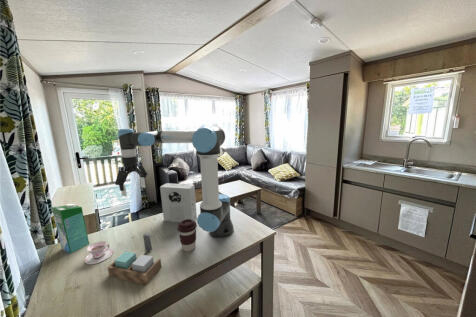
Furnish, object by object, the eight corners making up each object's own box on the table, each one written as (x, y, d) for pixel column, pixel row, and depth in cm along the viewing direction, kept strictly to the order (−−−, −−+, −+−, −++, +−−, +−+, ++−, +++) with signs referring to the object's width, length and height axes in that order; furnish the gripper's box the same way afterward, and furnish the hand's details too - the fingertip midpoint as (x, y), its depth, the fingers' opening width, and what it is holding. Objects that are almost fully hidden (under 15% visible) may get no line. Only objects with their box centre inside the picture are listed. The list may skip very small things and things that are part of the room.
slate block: (154, 269, 88) (152, 256, 87) (145, 280, 82) (143, 266, 81) (143, 267, 90) (141, 254, 88) (134, 277, 84) (131, 263, 83)
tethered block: (155, 248, 102) (153, 233, 101) (127, 275, 85) (124, 258, 83) (146, 247, 104) (144, 232, 102) (116, 273, 86) (113, 256, 85)
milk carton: (89, 243, 108) (81, 203, 103) (70, 253, 100) (60, 210, 95) (80, 239, 112) (72, 200, 107) (61, 249, 104) (51, 207, 99)
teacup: (82, 268, 90) (79, 257, 89) (87, 253, 101) (85, 243, 99) (111, 259, 96) (109, 248, 94) (114, 246, 106) (112, 236, 105)
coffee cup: (201, 243, 106) (199, 219, 103) (191, 255, 97) (189, 228, 94) (186, 240, 109) (184, 216, 106) (175, 251, 100) (172, 225, 97)
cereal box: (197, 218, 134) (194, 184, 129) (192, 223, 126) (189, 188, 121) (169, 215, 139) (166, 183, 134) (163, 220, 131) (159, 186, 126)
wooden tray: (161, 267, 89) (160, 258, 89) (146, 284, 80) (145, 275, 79) (127, 260, 95) (125, 252, 94) (109, 275, 85) (107, 267, 84)
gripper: (141, 152, 121) (145, 183, 125) (103, 160, 97) (109, 198, 102) (150, 152, 118) (154, 184, 122) (114, 161, 95) (120, 200, 99)
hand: (134, 191), depth 112 cm, fingers open, 13 cm apart
